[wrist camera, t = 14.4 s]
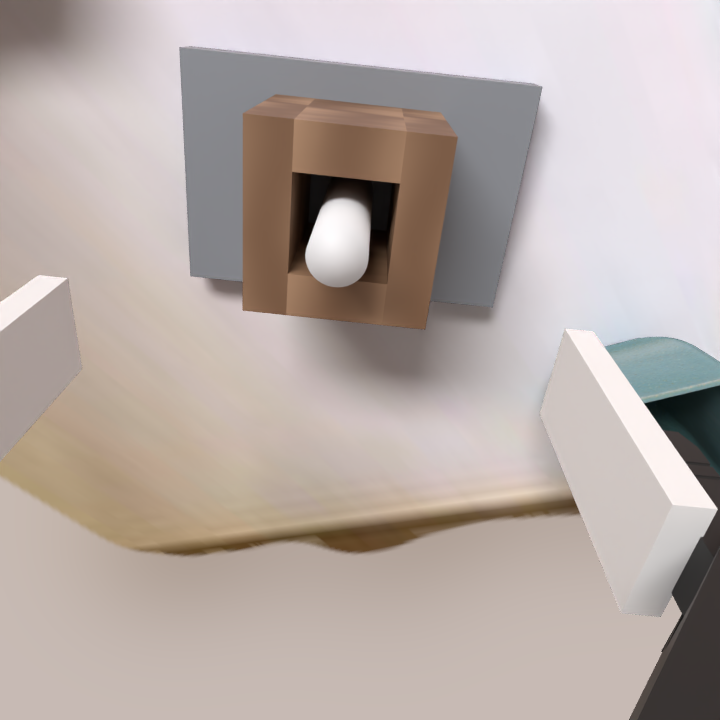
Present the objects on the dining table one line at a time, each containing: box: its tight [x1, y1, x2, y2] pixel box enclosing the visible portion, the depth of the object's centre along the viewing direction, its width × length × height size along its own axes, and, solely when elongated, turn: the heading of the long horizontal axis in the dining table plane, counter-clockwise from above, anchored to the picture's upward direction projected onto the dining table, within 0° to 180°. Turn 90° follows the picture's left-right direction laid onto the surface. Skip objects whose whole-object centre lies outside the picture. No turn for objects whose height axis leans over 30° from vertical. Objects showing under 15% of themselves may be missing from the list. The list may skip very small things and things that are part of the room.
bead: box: [243, 94, 458, 329], centre depth 28 cm, size 8×8×8 cm
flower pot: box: [605, 337, 720, 476], centre depth 35 cm, size 9×9×9 cm
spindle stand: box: [179, 46, 542, 307], centre depth 28 cm, size 18×12×13 cm, turn 84°
